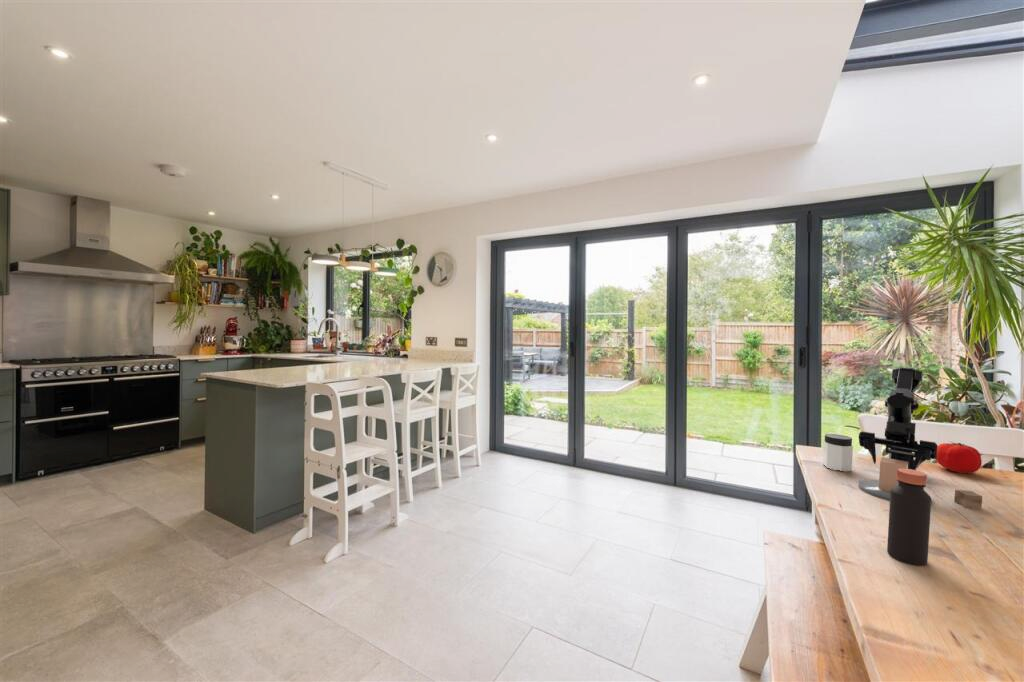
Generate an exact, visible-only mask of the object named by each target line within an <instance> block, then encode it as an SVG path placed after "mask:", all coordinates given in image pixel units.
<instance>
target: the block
mask: <svg viewBox="0 0 1024 682" xmlns="http://www.w3.org/2000/svg"><path fill="white" fill-rule="evenodd" d="M953 502H954V503H955V504H957V505H959V506H961V507H962V506H963V508H965V509H972V508H974V509H973V510H982V507H983V495H981V494H979V493H976V492H974V491H971V490H963V489H954V500H953Z"/></svg>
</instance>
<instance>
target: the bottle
mask: <svg viewBox="0 0 1024 682" xmlns="http://www.w3.org/2000/svg"><path fill="white" fill-rule="evenodd" d="M927 478H928V475H927V474H926V472H922V471H921V470H917V469H916V470H912V469H904V468H900V469H897V481H898V485H897V486H895V487H893V488H892V489H891V491H890V500H889V510H888V511H889V513H888V530H887V544H886V545H887V548H886V549H887V550H886V551H887V553H888V555H889V556H890V557H892V558H893V559H895V560H897V561H900V562H902V563H905V564H908V565H913V566H925V565H927V564H928V557H929V542H930V527H931V512H932V508H931V507H932V497H931V496H930V495H929V493H928V492H927V491H926V490H925V487H926V486H927Z"/></svg>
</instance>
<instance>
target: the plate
mask: <svg viewBox="0 0 1024 682" xmlns="http://www.w3.org/2000/svg"><path fill="white" fill-rule="evenodd" d="M857 487H858V488H859V489H860V490H861V491H862V490H863V492H864V491H865V492H864V493H866V492H867V493H866V494H868V493H869V495H870V496H874V497H877V498H880V499H884V500H887V501H890V491H886V490H881V489H879V479H868V478H867V479H861V480H859V481H858V485H857Z"/></svg>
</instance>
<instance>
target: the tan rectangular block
mask: <svg viewBox="0 0 1024 682" xmlns="http://www.w3.org/2000/svg"><path fill="white" fill-rule="evenodd" d="M900 468H904V469H908V462H906V461H901V460H895V459H890V458H889V457H883V456H882V457H881V459H880V462H879V475H878V476H879V479H878V480H879V489H881V490H886V491H891V489H892V488H893V487H895V486H897V485H898V481H897V469H900Z"/></svg>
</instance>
